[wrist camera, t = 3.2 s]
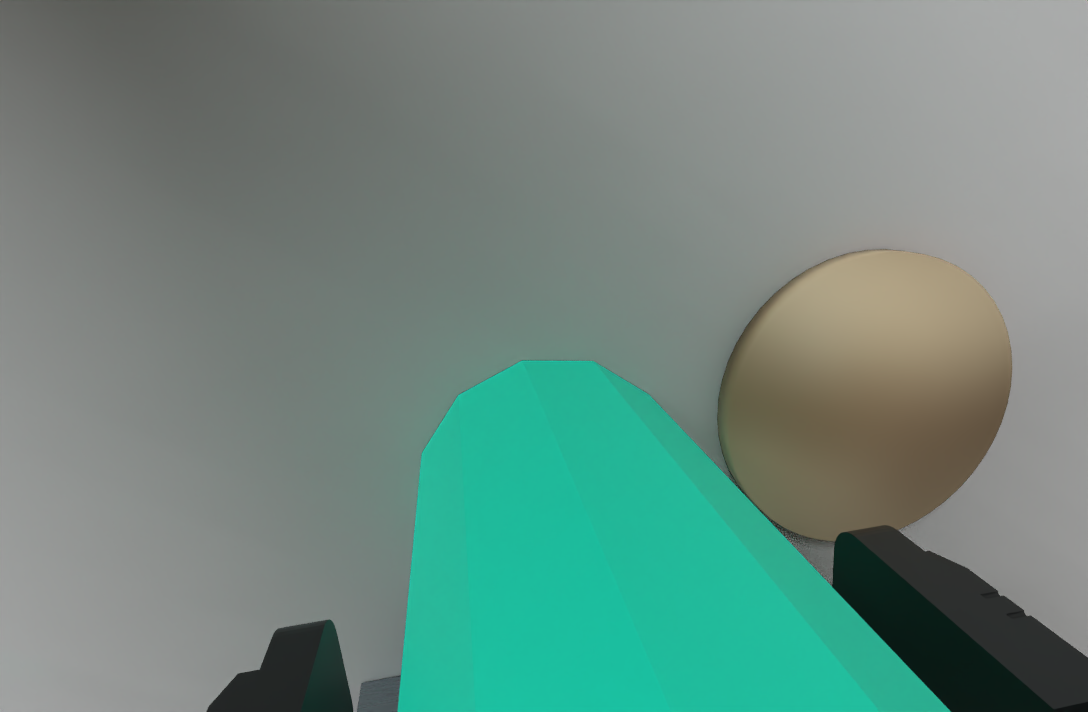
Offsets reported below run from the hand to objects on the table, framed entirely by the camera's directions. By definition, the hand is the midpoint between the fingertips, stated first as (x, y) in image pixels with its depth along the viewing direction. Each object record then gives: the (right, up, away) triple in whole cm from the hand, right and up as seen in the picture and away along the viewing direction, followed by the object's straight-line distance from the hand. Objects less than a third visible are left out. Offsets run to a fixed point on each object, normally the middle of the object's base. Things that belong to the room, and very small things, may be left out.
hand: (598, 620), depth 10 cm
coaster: (+7, +3, +5) cm, 9 cm away
